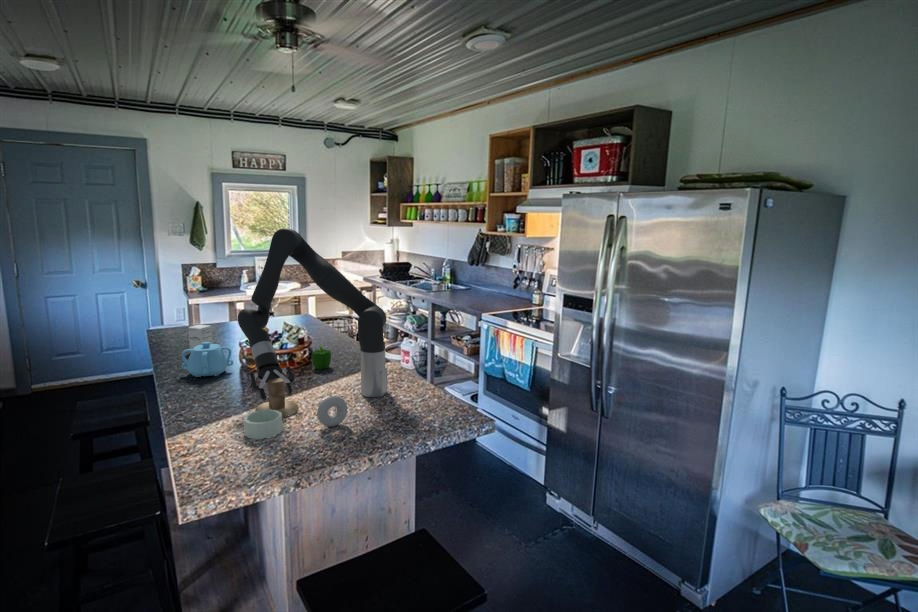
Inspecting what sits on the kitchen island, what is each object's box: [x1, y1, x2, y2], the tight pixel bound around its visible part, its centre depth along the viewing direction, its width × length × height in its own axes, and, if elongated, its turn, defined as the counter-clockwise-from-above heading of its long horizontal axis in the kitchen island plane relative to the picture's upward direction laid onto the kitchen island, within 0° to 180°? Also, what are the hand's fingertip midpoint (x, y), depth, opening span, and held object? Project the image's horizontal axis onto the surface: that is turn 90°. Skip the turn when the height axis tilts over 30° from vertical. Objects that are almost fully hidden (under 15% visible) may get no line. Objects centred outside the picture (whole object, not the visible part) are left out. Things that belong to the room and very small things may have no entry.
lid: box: [254, 378, 299, 418], centre depth 173 cm, size 14×14×11 cm
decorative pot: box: [181, 342, 234, 378], centre depth 210 cm, size 16×16×14 cm
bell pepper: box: [311, 344, 332, 370], centre depth 221 cm, size 8×8×10 cm
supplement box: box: [188, 323, 214, 349], centre depth 242 cm, size 7×7×13 cm
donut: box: [316, 395, 349, 428], centre depth 162 cm, size 10×4×10 cm, turn 125°
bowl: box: [243, 409, 283, 440], centre depth 158 cm, size 11×11×5 cm
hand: (277, 397), depth 172 cm, fingers open, 8 cm apart
